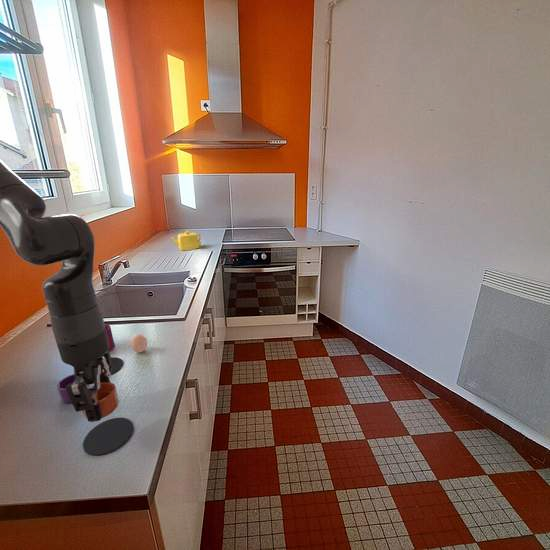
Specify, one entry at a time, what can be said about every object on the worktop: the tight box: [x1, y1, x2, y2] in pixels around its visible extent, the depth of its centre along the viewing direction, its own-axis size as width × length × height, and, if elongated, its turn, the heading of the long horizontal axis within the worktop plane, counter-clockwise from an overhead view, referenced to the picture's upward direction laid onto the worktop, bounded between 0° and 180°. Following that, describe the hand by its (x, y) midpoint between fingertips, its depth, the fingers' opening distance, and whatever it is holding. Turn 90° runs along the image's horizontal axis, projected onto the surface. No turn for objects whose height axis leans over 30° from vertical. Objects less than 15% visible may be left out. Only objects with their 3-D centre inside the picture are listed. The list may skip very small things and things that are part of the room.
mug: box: [104, 323, 116, 352], centre depth 92 cm, size 7×10×7 cm
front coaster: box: [82, 417, 134, 457], centre depth 61 cm, size 9×9×1 cm
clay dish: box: [82, 381, 120, 419], centre depth 58 cm, size 6×6×4 cm
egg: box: [130, 333, 148, 354], centre depth 89 cm, size 4×4×6 cm
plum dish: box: [56, 373, 91, 404], centre depth 72 cm, size 6×6×4 cm
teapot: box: [171, 230, 202, 251], centre depth 209 cm, size 20×12×12 cm, turn 115°
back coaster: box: [106, 356, 124, 376], centre depth 82 cm, size 9×9×1 cm
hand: (101, 406), depth 58 cm, fingers closed on clay dish, 6 cm apart
